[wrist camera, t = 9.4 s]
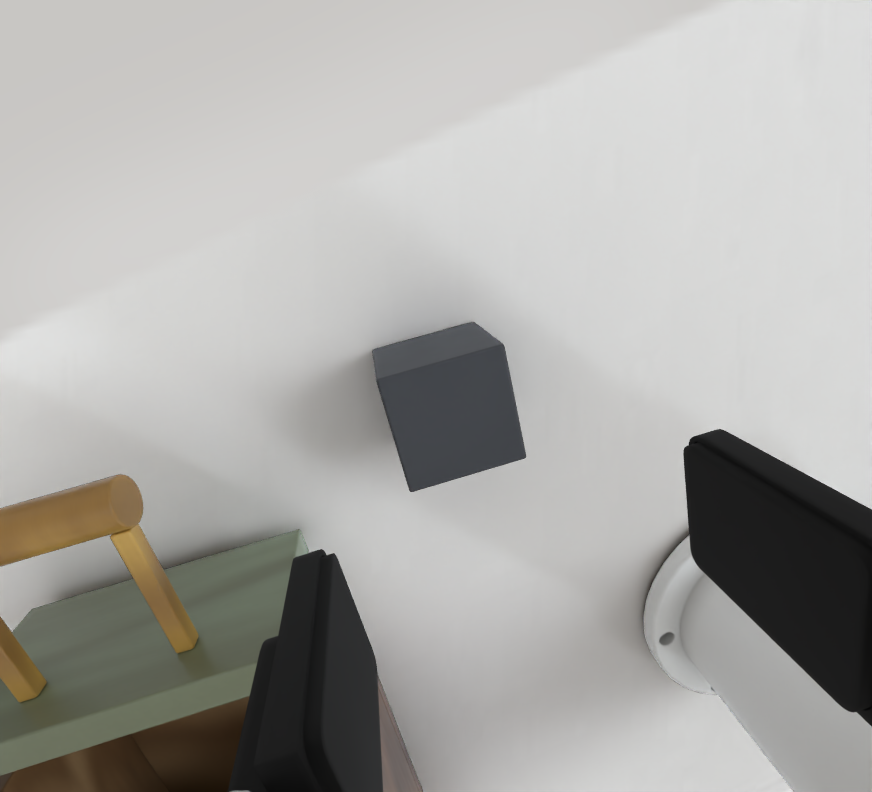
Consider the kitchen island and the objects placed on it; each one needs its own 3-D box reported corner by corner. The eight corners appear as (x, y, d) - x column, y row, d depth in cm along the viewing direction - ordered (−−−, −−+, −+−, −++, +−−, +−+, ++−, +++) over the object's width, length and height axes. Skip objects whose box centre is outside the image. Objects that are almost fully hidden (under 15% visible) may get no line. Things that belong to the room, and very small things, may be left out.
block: (474, 321, 20) (504, 343, 16) (494, 415, 22) (527, 458, 18) (371, 349, 20) (375, 379, 16) (399, 443, 22) (410, 493, 17)
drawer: (-57, 479, 18) (-279, 612, 12) (246, 394, 19) (190, 477, 13) (169, 809, 25) (105, 1007, 19) (385, 737, 26) (395, 904, 19)
